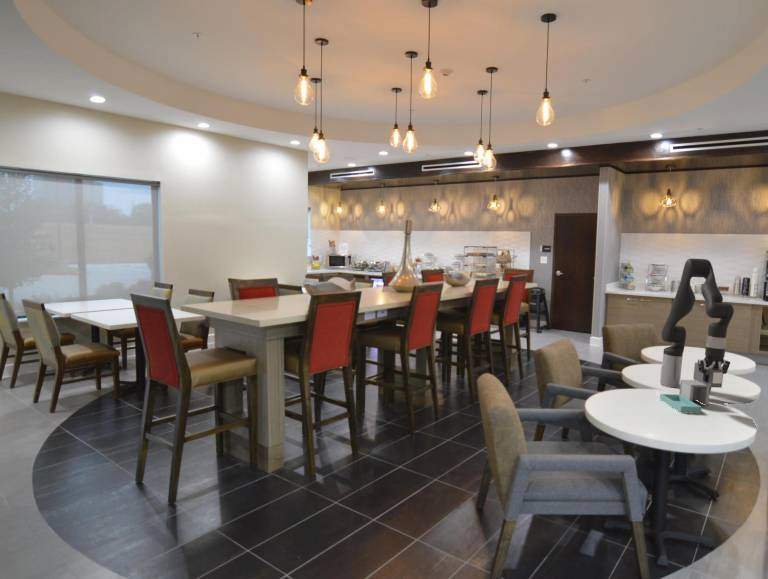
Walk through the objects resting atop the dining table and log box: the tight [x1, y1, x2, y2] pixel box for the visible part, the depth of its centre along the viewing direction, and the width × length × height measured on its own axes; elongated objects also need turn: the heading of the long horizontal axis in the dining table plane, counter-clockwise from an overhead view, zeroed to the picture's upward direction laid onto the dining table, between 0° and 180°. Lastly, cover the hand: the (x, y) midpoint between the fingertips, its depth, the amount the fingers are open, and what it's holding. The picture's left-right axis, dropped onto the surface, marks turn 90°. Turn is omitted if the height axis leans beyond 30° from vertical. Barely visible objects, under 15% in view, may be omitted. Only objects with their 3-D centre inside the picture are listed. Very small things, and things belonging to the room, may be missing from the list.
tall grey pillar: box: [692, 362, 724, 389], centre depth 237 cm, size 13×5×8 cm, turn 0°
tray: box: [659, 393, 702, 414], centre depth 245 cm, size 18×9×3 cm, turn 0°
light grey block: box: [678, 379, 711, 406], centre depth 250 cm, size 9×9×10 cm
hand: (711, 382), depth 235 cm, fingers closed on tall grey pillar, 5 cm apart
